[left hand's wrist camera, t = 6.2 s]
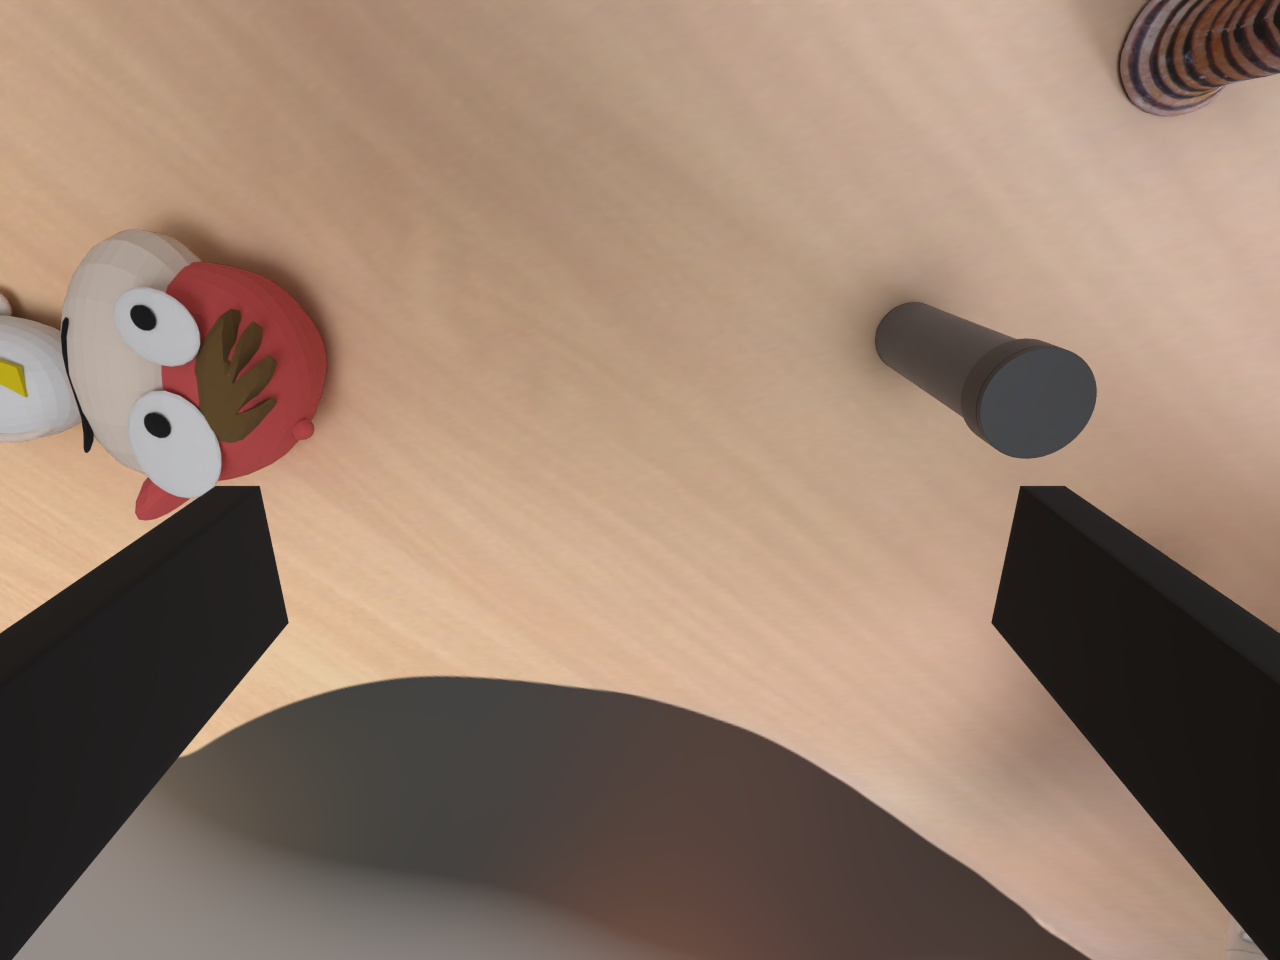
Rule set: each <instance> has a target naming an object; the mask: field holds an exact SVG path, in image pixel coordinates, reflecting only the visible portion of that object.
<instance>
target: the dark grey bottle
mask: <svg viewBox="0 0 1280 960" xmlns="http://www.w3.org/2000/svg"><path fill="white" fill-rule="evenodd" d="M1012 340H1017V339H1015V338H1012V337H1009V336H1007V335H1004V334H1002V333H999V332H996V331H994V330H991V329H988V328H986V327H983V326H981V325H978V324H975V323H973V322H970V321H968V320H965V319H962V318H960V317H957V316H955V315H952V314H949V313H947V312H944V311H941V310H939V309H936V308H934V307H931V306H928V305H926V304H923V303H907V304H903V305H900V306H898V307H896V308H895V309H893V310H892V311H890V312H889V313H888V314H887V315H886V316H885V317H884V319H883V320H882V322H881V323H880V325H879V327H878V330H877V333H876V349H877V352H878V355H879V356H880V358H881V359H882V361H883V362H884V363H885V364H886V365H888V366H889V367H891V368H892V369H894V370H895V371H897V372H898V373H899V374H901V375H902V376H904V377H905V378H907V379H908V380H910V381H911V382H913V383H914V384H915V385H917V386H918V387H920V388H921V389H923V390H924V391H926V392H927V393H929V394H930V395H931V396H933V397H934V398H936V399H937V400H939V401H940V402H942V403H943V404H945V405H946V406H947V407H949V408H950V409H952V410H953V411H955V412H956V413H958V414H959V415H961V416H962V417H963V414H962V410H961V393H962V388H963V385H964V382H965V380H966V377H967V375H968V373H969V372H970V370H971V369H972V367H973V366H974V365H975V364H976V362H977V361H978V360H979V359H980V358H981V357H982V356H983V355H985V354H986V353H987V352H988V351H990V350H992V349H993V348H995V347H997V346H999V345H1001V344H1003V343H1006V342H1009V341H1012ZM963 418H964V417H963Z"/></svg>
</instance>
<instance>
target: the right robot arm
mask: <svg viewBox="0 0 1280 960" xmlns="http://www.w3.org/2000/svg"><path fill="white" fill-rule="evenodd" d="M1226 960H1268V959H1267V958H1266V956H1265V955H1264V954H1263V953H1262V952H1261V950H1260V949H1259V948H1258V947H1257V946H1256V944H1255V943H1254V942H1253V941H1252V939H1251V938H1250V937H1249V936H1248V935H1247V933H1246V932H1245V931H1244V930H1243V928H1242V927H1241V926H1240V925H1239V924H1238V922H1237V921H1236V920H1235V919H1234V918H1233V916H1232V915H1231V914H1230V917H1229V930H1228V942H1227V952H1226Z"/></svg>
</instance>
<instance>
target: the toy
mask: <svg viewBox="0 0 1280 960" xmlns="http://www.w3.org/2000/svg"><path fill="white" fill-rule="evenodd" d="M11 314H12V309H11V306H10V304H9V302H8V300H7V299H6V298H5V297H4V296H3V295H2V294H1V293H0V442H26V441H30V440H34V439H37V438H41V437H45V436H49V435H53V434H57V433H60V432H63V431H65V430H67V429H69V428H72V427H74V426H75V425H77V424H78V423H80V422H81V421H82V426H83V433H84V451H85V453H88V452H89V451H90V449H91V446H92V443H93V440H94V438H93V436H94V437H95V438H96V439H97V440H98V442H99V443H100V444H101V445H102V446H103V447H104V448H105V449H106V450H107V451H108V452H109V453H110V454H111V455H112V456H113V457H114V458H115V459H116V460H117V461H118V462H120V463H121V464H123V465H124V466H126V467H128V468H130V469H133V470H135V471H138V472H141V473H143V474H146V475H147V476H148V478H147V479H146V480H145V481H144V483H143V485H142V488H141V491H140V493H139V496H138V498H137V500H136V510H135V513H136V515H137V517H138V519H140V520H152V519H156V518H159V517H161V516H163V515H166V514H168V513H169V512H171V511H173V510H174V509H176V508H178V507H179V506H180V505H182V504H183V503H185V502H186V501H187V500H189V499H191V498H196V497H200V496H201V495H203V494H204V493H206V492H207V491H209V490H210V489H212V488H213V487H214V486H215V484H216V483H217V481H220V480H227V479H233V478H237V477H240V476H244V475H248V474H250V473H253V472H255V471H257V470H259V469H262V468H264V467H266V466H268V465H270V464H272V463H274V462H275V461H277V460H278V459H280V458H281V457H283V456H284V455H285V454H286V453H287V452H288V451H289V450H290V449H291V448H292V447H293V446H294V445H295V444H296V443H297V442H298V440H299V439H301V440H304V439H308V438H310V437H311V436H312V434H313V433H314V426H313V424H312V422H311V420H312V418H313V416H314V415H315V412H316V409H317V406H318V403H319V400H320V397H321V395H322V391H323V386H324V381H325V376H326V371H327V364H326V352H325V348H324V345H323V341H322V338H321V335H320V334H319V332H318V330H317V328H316V327H315V325H314V323H313V322H312V320H311V319H310V318H309V316H308V315H307V314H306V313H305V311H304V310H303V309H302V308H301V306H300V305H299V304H298V303H297V302H296V301H295V300H294V299H293V298H292V297H291V296H290V295H289V294H288V293H287V292H286V291H285V290H283V289H282V288H281V287H279V286H278V285H276V284H275V283H273V282H272V281H270V280H269V279H267V278H265V277H262V276H260V275H258V274H256V273H253V272H249V271H246V270H242V269H239V268H235V267H232V266H228V265H222V264H214V263H207V262H202V261H201V260H200V259H199V258H198V257H197V256H195V255H194V254H193V253H192V252H191V251H190V250H189V249H188V248H187V247H186V246H185V245H183V244H182V243H180V242H179V241H177V240H176V239H174V238H172V237H169V236H166V235H163V234H159V233H154V232H149V231H144V230H133V229H131V230H126V231H122V232H119V233H117V234H115V235H113V236H112V237H110V238H108V239H106V240H104V241H102V242H101V243H99V244H97V245H96V246H94V247H93V248H92V249H91V250H90V251H89V252H88V254H87V255H86V256H85V258H84V259H83V261H82V262H81V264H80V265H79V267H78V268H77V270H76V271H75V272H74V274H73V276H72V279H71V281H70V284H69V288H68V291H67V294H66V298H65V301H64V304H63V308H62V320H61V331H59V330H57V329H56V328H53V327H50V326H47V325H45V324H42V323H39V322H36V321H32V320H29V319H23V318H17V317H12V316H11Z"/></svg>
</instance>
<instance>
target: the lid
mask: <svg viewBox="0 0 1280 960" xmlns="http://www.w3.org/2000/svg"><path fill="white" fill-rule="evenodd" d="M1096 393H1097V389H1096V382H1095V378H1094V375H1093V373H1092V371H1091V369H1090V367H1089V366H1088V365H1087V363H1086V362H1085V361H1084V360H1083V359H1082V358H1081V357H1079V356H1078V355H1076V354H1075V353H1073V352H1071V351H1068V350H1065V349H1063V348H1060V347H1057V346H1054V345H1052V344H1049V343H1046V342H1043V341H1040V340H1035V339H1017V340H1012V341H1009V342H1006V343H1003V344H1001V345H999V346H997V347H995V348H993V349H992V350H990V351H988V352H987V353H986V354H985V355H983V356H982V357H981V358H980V359H979V360H978V361H977V362H976V364H975V365H974V366H973V367H972V369H971V370H970V372H969V373H968V375H967V377H966V380H965V382H964V385H963V388H962V393H961V410H962V414H963V417H964V420H965V422H966V424H967V425H968V427H969V428H970V429H971V431H973V432H974V433H975V434H976V435H977V436H978V437H980V438H981V439H983V440H984V441H985V442H987V443H988V444H990V445H991V446H992V447H994V448H995V449H997V450H998V451H1000V452H1001V453H1003V454H1006V455H1008V456H1011V457H1016V458H1027V459H1028V458H1037V457H1042V456H1045V455H1048V454H1051V453H1053V452H1056V451H1058V450H1059V449H1061V448H1063V447H1065V446H1066V445H1067V444H1069V443H1070V442H1071V441H1072V440H1073V439H1075V438H1076V437H1077V436H1078V435H1079V433H1080V432H1081V431H1082V430H1083V429H1084V427H1085V426H1086V424H1087V423H1088V421H1089V419H1090V417H1091V415H1092V413H1093V410H1094V406H1095V403H1096Z"/></svg>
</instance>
